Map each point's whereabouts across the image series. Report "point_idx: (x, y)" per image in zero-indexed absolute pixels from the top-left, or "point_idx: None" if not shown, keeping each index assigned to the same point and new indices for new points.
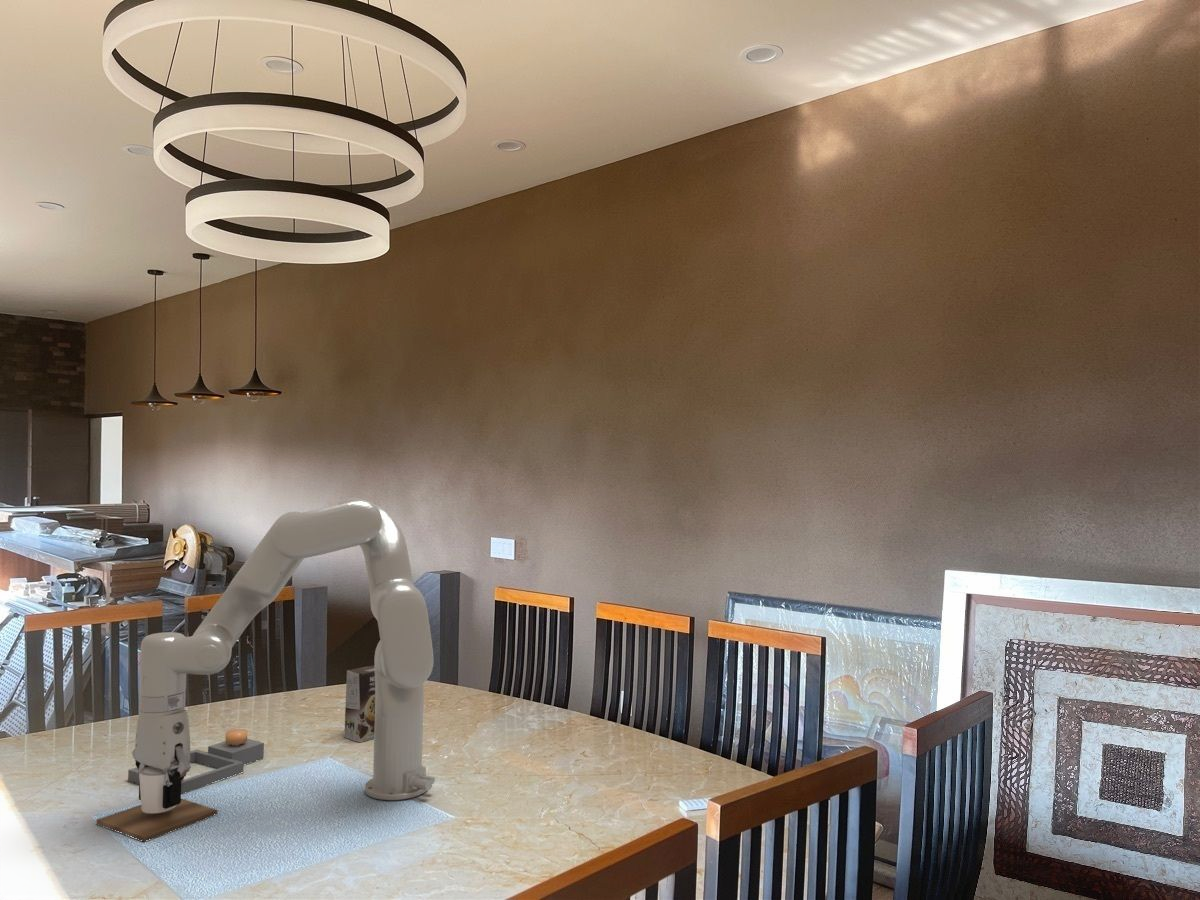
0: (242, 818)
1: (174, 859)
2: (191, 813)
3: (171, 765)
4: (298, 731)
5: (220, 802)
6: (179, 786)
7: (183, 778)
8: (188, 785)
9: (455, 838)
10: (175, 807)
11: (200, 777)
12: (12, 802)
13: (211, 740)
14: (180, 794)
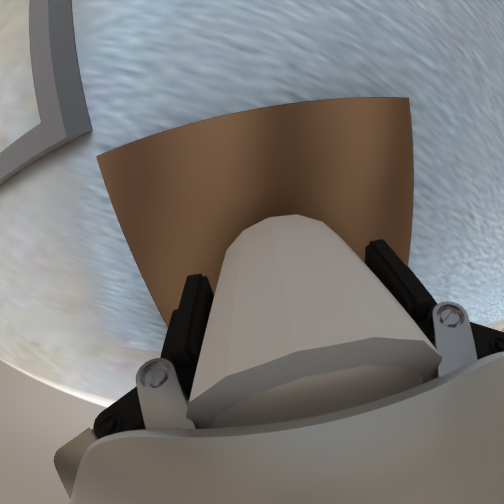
0: (468, 80)
1: (483, 296)
2: (368, 174)
3: (320, 384)
4: None
5: (291, 18)
6: (435, 302)
7: (465, 313)
8: (67, 78)
9: None
10: (257, 188)
11: (51, 31)
12: (24, 371)
13: None
14: (398, 259)
